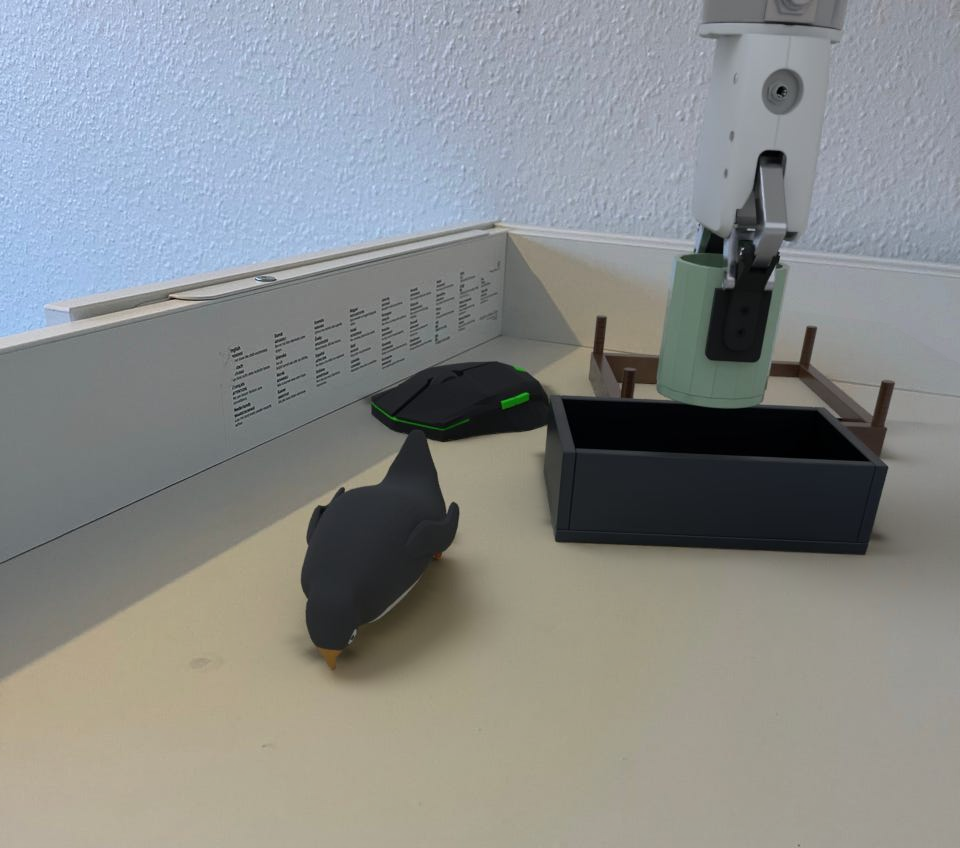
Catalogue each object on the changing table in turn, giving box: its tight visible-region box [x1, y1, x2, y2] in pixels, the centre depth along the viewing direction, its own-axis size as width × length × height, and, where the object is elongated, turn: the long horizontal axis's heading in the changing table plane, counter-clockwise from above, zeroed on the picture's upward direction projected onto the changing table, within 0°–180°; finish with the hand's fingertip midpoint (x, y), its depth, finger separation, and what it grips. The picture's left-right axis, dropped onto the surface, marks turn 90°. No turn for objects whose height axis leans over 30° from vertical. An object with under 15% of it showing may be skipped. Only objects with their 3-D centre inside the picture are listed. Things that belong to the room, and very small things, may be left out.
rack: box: [588, 314, 896, 459], centre depth 87 cm, size 21×21×6 cm
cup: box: [655, 252, 791, 408], centre depth 61 cm, size 7×7×8 cm
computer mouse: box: [370, 360, 550, 442], centre depth 83 cm, size 11×16×4 cm
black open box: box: [543, 394, 889, 555], centre depth 66 cm, size 20×13×6 cm, turn 90°
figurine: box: [300, 430, 461, 670], centre depth 51 cm, size 7×10×15 cm
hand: (718, 343), depth 62 cm, fingers closed on cup, 6 cm apart
